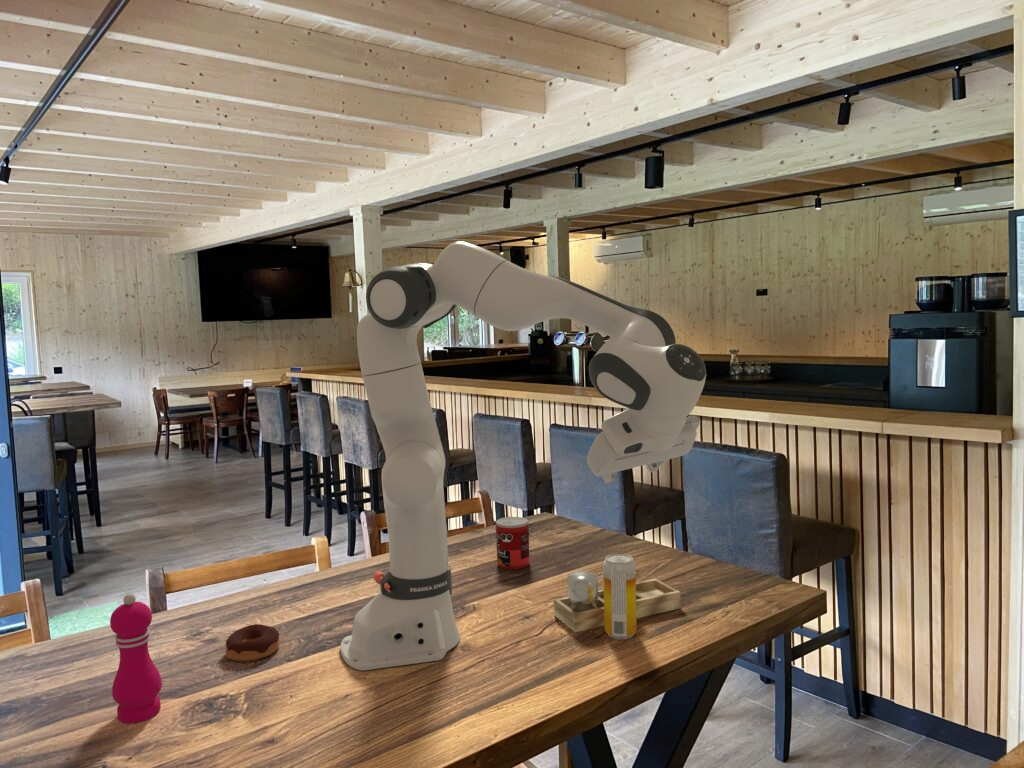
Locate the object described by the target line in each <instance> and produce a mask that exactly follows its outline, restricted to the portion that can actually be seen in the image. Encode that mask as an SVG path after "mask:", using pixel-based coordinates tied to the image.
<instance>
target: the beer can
mask: <svg viewBox="0 0 1024 768" xmlns="http://www.w3.org/2000/svg"><path fill="white" fill-rule="evenodd" d="M602 566H603V567H602V569H603V573H604V623H605V626H604V631H605V633H607V635H608V637H610V638H611V639H615V640H627V639H631V638H632V637H634V635H635V633H636V632H637V618H636V583H637V581H636V580H637V577H636V573H637V571H636V567H637V566H636V563H635V561H634V557H633V556H632V555H629V554H626V553H611V554H608V555H606V556H605V558H604V562H603V565H602ZM603 573H602V574H603Z"/></svg>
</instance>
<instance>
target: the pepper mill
mask: <svg viewBox="0 0 1024 768" xmlns="http://www.w3.org/2000/svg"><path fill="white" fill-rule="evenodd" d="M136 598H137V597H136V596H135V594H133V593H127V594H126V595H124V597H123V600H122V603H123V604H121V605H119V606H117V607H116V608H115V609H114V610H113V611H112V613H111V616H110V620H109V624H110V629H111V631H112V632H113V633H115V634H116V635H115V637H114V640H115V646H116V647H117V648H118V650H119V663H118V664H119V665H118V668H117V671H116V674H115V677H114V679H113V682H112V687H111V689H112V690H111V693H112V694H111V696H112V699H113V701H115V703H117V704H118V706H117V707H116V711H117V720H118V721H119V722H120V723H123V724H137V723H141V722H145V721H147V720H150V719H151V718H153V717H155V716H157V714H158V713H160V711H161V707H162V706H161V698H160V696H159V694H160V691H161V689H162V687H163V682H162V676H161V673H160V672H159V669H158V667H157V666H156V665H155V663H154V661H153V659H152V658H151V655H150V652H149V643H148V642H149V640H150V639H151V635H150V633H151V631H150V629H149V626H150V625H151V623H152V621H153V613H152V610H151V608H150V607H149V606H148V605H147V604H146V603H144V602H141V601H136V600H137V599H136Z"/></svg>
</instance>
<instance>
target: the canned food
mask: <svg viewBox="0 0 1024 768" xmlns="http://www.w3.org/2000/svg"><path fill="white" fill-rule="evenodd" d="M529 531H530V527H529V520H528V518H525V517H520V516H507V517H500V518H499V519H497V520H496V521H495V537H496V538H495V539H496V543H495V544H496V562H497V565H498V567H500V569H501V568H502V569H505V570H519V569H523V568H527V566H529V564H530V532H529Z"/></svg>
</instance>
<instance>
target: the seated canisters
mask: <svg viewBox="0 0 1024 768" xmlns="http://www.w3.org/2000/svg"><path fill="white" fill-rule="evenodd" d="M567 588H568V589H567V590H568V592H567V593H568V596H567V597H569V608H571V609H572V610H573V611H575V612H576V613H578V612H583V611H587V610H592V609H596V608H599V600H598V590H599V575H598V574H597V573H595V572H593V571H585V570H581V571H574V572H572V573H570V574H568V575H567ZM602 590H603V600H604V573H603V568H602Z"/></svg>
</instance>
